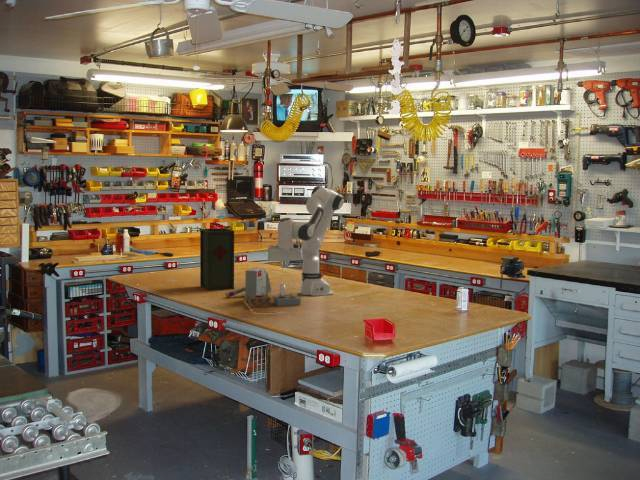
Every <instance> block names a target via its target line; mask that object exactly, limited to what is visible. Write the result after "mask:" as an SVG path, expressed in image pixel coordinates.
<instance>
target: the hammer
mask: <svg viewBox="0 0 640 480" xmlns="http://www.w3.org/2000/svg"><path fill="white" fill-rule="evenodd" d="M271 291H272V285H271V281H270V277H269V272H267V271H266V295H268V294H269V293H271ZM242 292H245V286H244V287H240V288H239V289H234V290H231V291H229V292H226V293H225V297H226V298H227V299H229V298H230V297H234V296H235V295H237V294H240V293H242Z"/></svg>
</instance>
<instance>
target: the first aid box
mask: <svg viewBox="0 0 640 480" xmlns="http://www.w3.org/2000/svg"><path fill="white" fill-rule="evenodd" d="M199 231H200V232H199V235H200V236H199V237H200V239H199V240H200V244H199V250H200V252H199V253H200V255H199V256H200V259H199V260H200V266H199V267H200V268H199V269H200V271H199V272H200V273H199V274H200V275H199V277H200V281H199V282H200V284H199V287H200V288H202V287H203V288H202V289H204V290H206V291H208V292H211V291H212V292H213V291H225V290H226V291H228V290H235V230H232V229H229V228H225V227H224V228H200V230H199Z"/></svg>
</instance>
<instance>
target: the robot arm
mask: <svg viewBox="0 0 640 480" xmlns="http://www.w3.org/2000/svg"><path fill="white" fill-rule="evenodd" d="M310 194H311V195H310V196H309V198H308V199H307V201H306V204H305V206H306V211H307V212H308V213H309V214H310V215H311V216H310V218H309V220H308V222H306V223H305V222H304V223H301V222H300V223H299V222H295V221H294V220H293V219H292V218H291V217H282V218H280V219H279V220H278V223H277V245H276V244H275V245H269V246H268V247H267V252H268V254H267V260H268V261H269V262H278V261H279V263H280V267H281V269H288V268H289V264H290V262H291V261H301V260H302V271H301V285H300V286H301V287H300V291H299V294H300V295H304V296H305V295H306V296H312V297H313V296H314V297H315V296H316V297H318V296H319V297H320V296H328V295H329V296H330V295H334V293H335V292H334V291H333V290H331V285H330V283H328V281H327V280H325V279H324V276H325V274H324V273H321V272H320V255H319V252H320V249H321V247H322V244H323V242H324V239H325V236H326V233H327V230H328V228H329V226H330V224H331V221H332V219H333V217H334V213H335V211H338V210H340V209H341V208H342V206H343V205H344V203H345V197H344V196H343V195H342V194H341V193H338V192H336V191H335V190H332V189H329V188H326V187H323V186H321V185H317V186H315V187H313V189H312V191H311V193H310ZM293 240H301V245H300V244H298V243H296V242H293ZM284 262H286V264H283V263H284Z"/></svg>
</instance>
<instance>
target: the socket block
mask: <svg viewBox="0 0 640 480" xmlns="http://www.w3.org/2000/svg"><path fill="white" fill-rule="evenodd" d="M273 303H274V304H275V305H276V307H285V306H287V307H288V306H289V307H290V306H291V307H292V306H301V298H300V297H299V296H298V295H297V296H296V298H292V297H291V295H285V298H280V295H274V296H273Z"/></svg>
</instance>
